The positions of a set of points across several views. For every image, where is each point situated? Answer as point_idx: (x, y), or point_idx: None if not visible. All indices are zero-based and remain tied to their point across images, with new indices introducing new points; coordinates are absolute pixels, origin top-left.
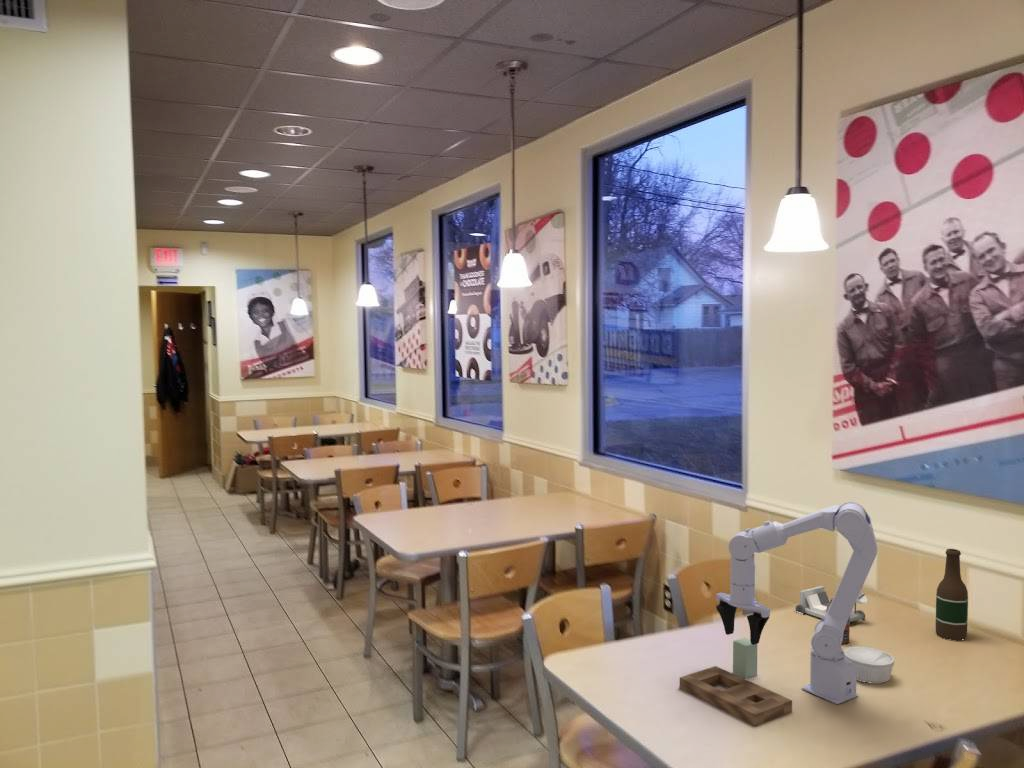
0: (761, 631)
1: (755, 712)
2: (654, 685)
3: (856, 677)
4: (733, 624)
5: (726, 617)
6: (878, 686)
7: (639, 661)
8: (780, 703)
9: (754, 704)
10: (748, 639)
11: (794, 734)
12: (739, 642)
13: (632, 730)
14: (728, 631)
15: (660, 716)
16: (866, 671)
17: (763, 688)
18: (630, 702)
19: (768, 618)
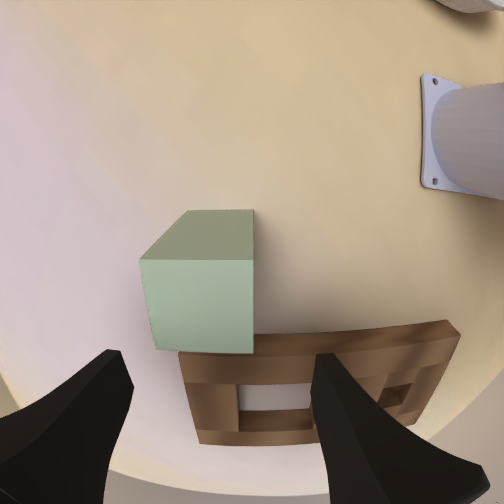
0: (374, 406)
1: (413, 420)
2: (170, 438)
3: (453, 8)
4: (94, 386)
5: (99, 475)
6: (482, 18)
7: (57, 383)
8: (444, 366)
9: (401, 409)
10: (177, 265)
11: (464, 370)
12: (190, 343)
13: (280, 494)
14: (127, 397)
15: (274, 475)
16: (489, 10)
17: (387, 351)
18: (211, 476)
19: (474, 470)
